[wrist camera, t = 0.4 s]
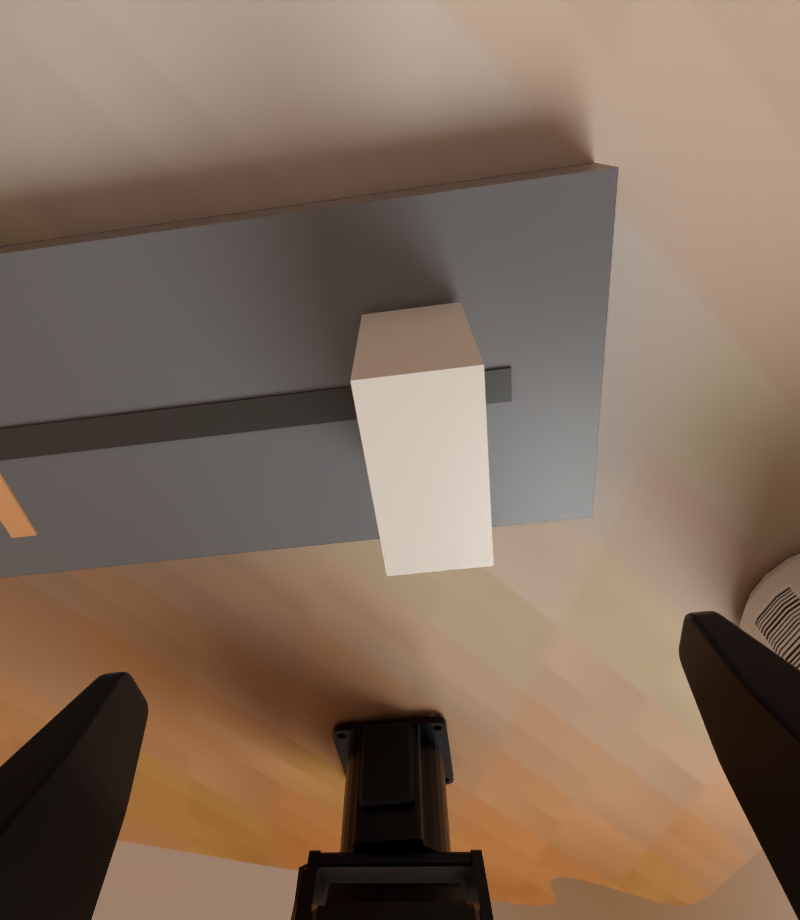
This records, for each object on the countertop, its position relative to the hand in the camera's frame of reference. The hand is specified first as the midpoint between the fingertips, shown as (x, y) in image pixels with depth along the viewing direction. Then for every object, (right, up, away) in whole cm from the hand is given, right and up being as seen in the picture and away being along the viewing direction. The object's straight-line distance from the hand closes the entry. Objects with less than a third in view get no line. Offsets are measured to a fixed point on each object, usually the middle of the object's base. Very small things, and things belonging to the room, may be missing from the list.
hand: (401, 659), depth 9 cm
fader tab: (+1, +5, +9) cm, 11 cm away
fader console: (-8, +5, +12) cm, 15 cm away
